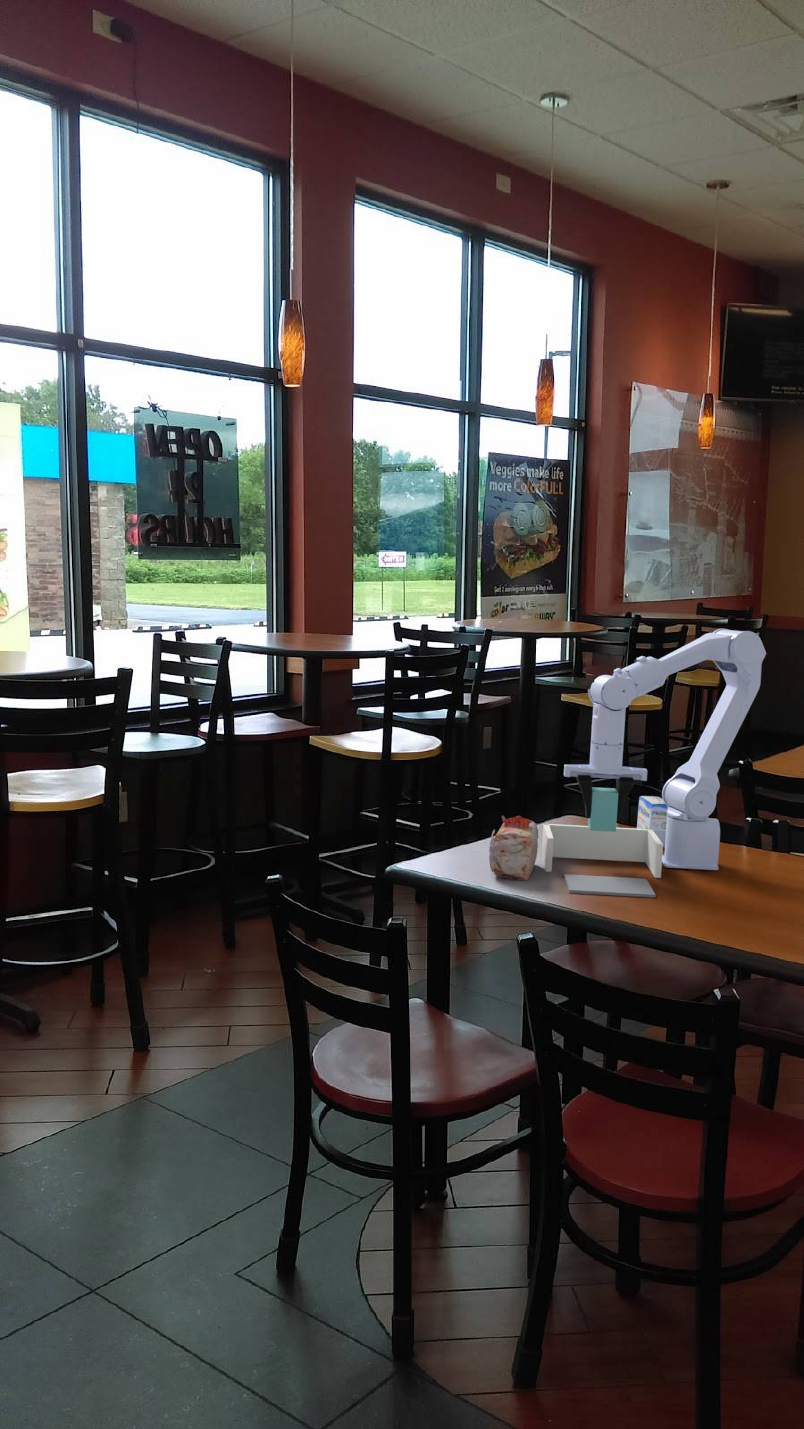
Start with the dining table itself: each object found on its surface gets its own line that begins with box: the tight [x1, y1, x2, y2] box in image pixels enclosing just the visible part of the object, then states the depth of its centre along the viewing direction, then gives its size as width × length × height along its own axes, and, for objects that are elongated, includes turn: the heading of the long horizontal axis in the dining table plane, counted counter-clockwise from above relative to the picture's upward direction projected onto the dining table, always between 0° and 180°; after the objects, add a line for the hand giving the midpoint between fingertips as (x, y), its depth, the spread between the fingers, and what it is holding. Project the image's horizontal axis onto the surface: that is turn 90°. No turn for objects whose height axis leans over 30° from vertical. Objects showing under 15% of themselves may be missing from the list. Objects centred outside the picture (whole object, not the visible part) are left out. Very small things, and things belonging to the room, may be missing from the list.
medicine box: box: [636, 795, 668, 848], centre depth 224 cm, size 8×4×9 cm, turn 6°
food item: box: [488, 815, 539, 881], centre depth 197 cm, size 14×8×10 cm, turn 169°
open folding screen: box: [541, 823, 664, 879], centre depth 204 cm, size 20×12×6 cm, turn 86°
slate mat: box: [563, 873, 657, 898], centre depth 190 cm, size 14×10×1 cm
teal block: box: [587, 786, 618, 832], centre depth 203 cm, size 4×4×7 cm
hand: (602, 817), depth 203 cm, fingers closed on teal block, 4 cm apart
